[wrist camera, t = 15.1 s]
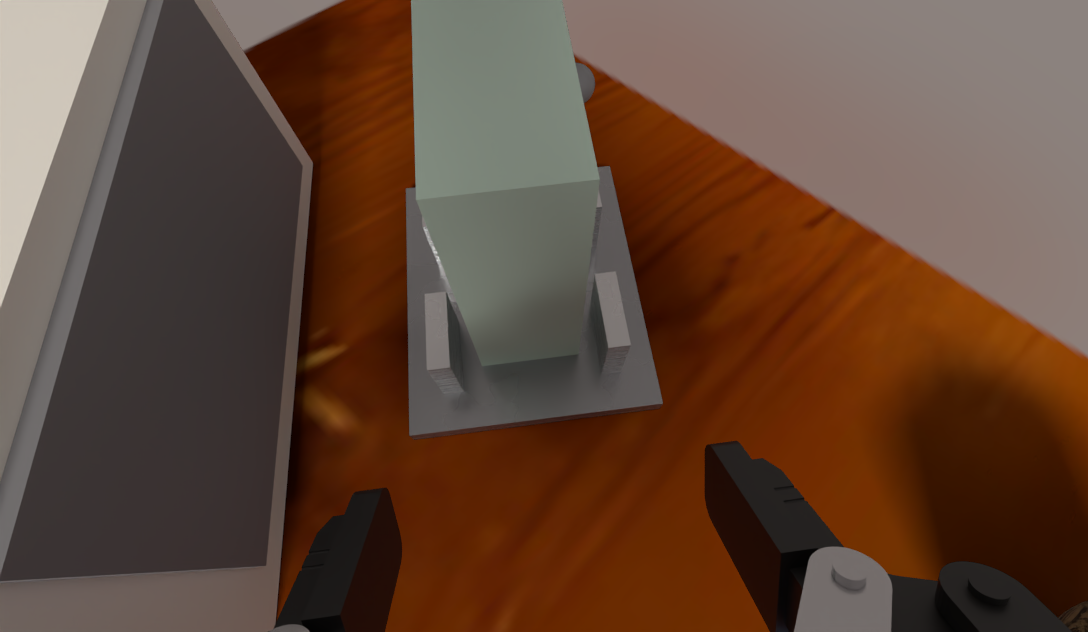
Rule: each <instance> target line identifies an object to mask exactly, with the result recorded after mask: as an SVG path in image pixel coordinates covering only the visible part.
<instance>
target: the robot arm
mask: <svg viewBox="0 0 1088 632" xmlns="http://www.w3.org/2000/svg"><path fill="white" fill-rule="evenodd" d="M705 501H706V506H707V510H708V513H709V516H710V519H711V521H712V523H713V525H714V527H715V529H716V530H717V532H718V534H719V536H720V538H721V540H722V542H723V544H724V546H725V547H726V549H727V551H728V553H729V555H730V557H731V559H732V561H733V563H734V564H735V566H736V568H737V570H738V572H739V574H740V576H741V578H742V580H743V581H744V583H745V585H746V587H747V589H748V591H749V593H750V595H751V597H752V598H753V600H754V602H755V604H756V606H757V608H758V610H759V612H760V614H761V615H762V617H763V619H764V621H765V623H766V625H767V627H768V629H769V631H770V632H1072V631H1071V630H1070V629H1069V628H1068V627H1067V626H1066V625H1065V624H1064V623H1063V622H1062V621H1061V620H1059V619H1058V618H1057V617H1056V616H1055V615H1054V614H1053V613H1052V612H1051V611H1050V610H1049V609H1048V608H1047V607H1046V606H1045V605H1044V604H1043V603H1042V602H1040V601H1039V600H1038V599H1037V598H1036V597H1035V596H1034V595H1033V594H1032V593H1031V592H1030V591H1029V590H1028V589H1027V588H1026V587H1024V586H1023V585H1022V584H1021V583H1019V582H1018V581H1017V580H1015V579H1014V578H1012V577H1010V576H1009V575H1007V574H1005V573H1003V572H1001V571H999V570H997V569H994V568H992V567H989V566H986V565H983V564H979V563H974V562H966V561H961V562H953V563H950V564H947V565H946V566H944V567H943V568H942V569H941V571H940V574H939V579H938V581H933V580H925V579H917V578H909V577H901V576H895V575H891V574H887V573H886V572H885V570H884V569H883V568H882V567H881V566H880V565H879V564H878V563H877V562H875V561H874V560H873V559H871V558H870V557H868V556H866V555H864V554H862V553H860V552H858V551H855V550H852V549H848V548H844V547H843V545H842V544H841V543H840V542H839V540H838V539H837V538H836V537H835V536H834V534H833V533H832V532H831V531H830V529H829V528H828V527H827V526H826V524H825V523H824V522H823V521H822V520H821V518H820V517H819V516H818V515H817V513H816V512H815V511H814V510H813V508H812V507H811V506H810V505H809V504H808V502H807V501H804V497H803V496H802V495H801V494H800V492H799V491H798V490H797V489H796V488H794V485H793V484H792V483H791V481H790V480H789V479H788V478H787V476H786V475H785V474H784V473H783V472H782V470H780V469H779V468H777V467H776V466H774V465H772V464H771V463H769V462H768V461H766V460H764V459H763V458H761V459H754V460H752V459H751V458H750V456H749V455H748V454H747V452H746V451H745V450H744V448H743V447H742V446H741V444H740V443H739V442H738V441H731V442H724V443H717V444H709V445H707V446H706V448H705ZM401 558H402V542H401V536H400V532H399V528H398V524H397V520H396V516H395V512H394V509H393V505H392V501H391V497H390V494H389V491H388V489H387V488H380V489H372V490H365V491H358V492H355V493H354V494H353V495H352V497H351V500H350V502H349V505H348V507H347V510H346V512H345V514H344V515H340V516H333V517H332V518H331V519H330V520H329V521H328V522H327V524H326V525H325V526H324V527H323V528H322V529H321V530H320V531H319V532H318V533H317V535H316V537H315V539H314V542H313V544H312V546H311V548H310V550H309V555H307V557H306V559H305V561H304V563H303V565H302V571H300V572H299V574H298V576H297V579H296V581H295V583H294V585H293V587H292V589H291V592H290V594H289V596H288V598H287V600H286V602H285V605H284V607H283V609H282V611H281V613H280V615H279V618H278V620H277V622H276V624H275V626H274V628H273V629H272V630H270V631H268V632H385V628H386V624H387V620H388V615H389V611H390V607H391V603H392V598H393V594H394V590H395V586H396V582H397V577H398V573H399V569H400V565H401Z"/></svg>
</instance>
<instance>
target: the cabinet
mask: <svg viewBox="0 0 1088 632" xmlns="http://www.w3.org/2000/svg"><path fill="white" fill-rule="evenodd" d="M312 170H313V162H312V160H311V159H310V157H309V156H308V154H307V152H306V151H305V149H304V148H303V146H302V144H301V143H300V141H299V140H298V138H297V136H296V135H295V133H294V132H293V130H292V128H291V127H290V125H289V124H288V122H287V120H286V119H285V117H284V116H283V114H282V112H281V111H280V109H279V108H278V106H277V105H276V103H275V101H274V100H273V98H272V97H271V95H270V93H269V92H268V90H267V89H266V87H265V85H264V84H263V82H262V81H261V79H260V77H259V76H258V74H257V73H256V71H255V69H254V68H253V66H252V65H251V63H250V61H249V60H248V58H247V57H246V55H245V53H244V52H243V50H242V49H241V47H240V45H239V44H238V42H237V41H236V39H235V37H234V36H233V34H232V33H231V31H230V30H229V28H228V26H227V25H226V23H225V22H224V20H223V18H222V17H221V15H220V13H219V12H218V10H217V9H216V7H215V5H214V4H213V2H212V1H211V0H0V632H267V631H270V630H272V629H273V628H274V626H275V624H276V612H277V600H278V588H279V576H280V563H281V551H282V539H283V526H284V514H285V502H286V490H287V477H288V465H289V453H290V440H291V428H292V416H293V404H294V391H295V379H296V367H297V354H298V342H299V330H300V318H301V305H302V293H303V281H304V268H305V256H306V244H307V232H308V219H309V207H310V195H311V182H312Z"/></svg>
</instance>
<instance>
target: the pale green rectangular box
mask: <svg viewBox="0 0 1088 632" xmlns="http://www.w3.org/2000/svg"><path fill="white" fill-rule="evenodd" d="M411 12H412V53H413V95H414V136H415V178H416V201H417V204H418V206H419V209H420V211H421V214H422V216H423V219H424V221H425V224H426V226H427V229H428V231H429V234H430V236H431V239H432V241H433V244H434V246H435V249H436V251H437V254H438V256H439V259H440V261H441V264H442V266H443V269H444V272H445V274H446V277H447V279H448V282H449V284H450V287H451V289H452V292H453V294H454V297H455V299H456V302H457V304H458V307H459V309H460V312H461V314H462V317H463V319H464V322H465V324H466V327H467V329H468V332H469V334H470V337H471V339H472V342H473V344H474V347H475V350H476V352H477V355H478V357H479V360H480V362H481V365H482V366H487V365H495V364H504V363H512V362H520V361H528V360H536V359H544V358H552V357H560V356H568V355H577V354H579V347H580V339H581V331H582V323H583V314H584V306H585V298H586V290H587V281H588V273H589V265H590V257H591V248H592V240H593V232H594V224H595V215H596V207H597V199H598V191H599V182H600V178H599V173H598V168H597V163H596V159H595V154H594V149H593V144H592V140H591V135H590V130H589V126H588V121H587V116H586V111H585V107H584V103H585V102H586V101H588V100H589V98H590V97H591V96H592V94H593V91H594V87H595V80H594V76H593V74H592V72H591V70H590V69H589V68H588V67H587V66H585V65H583V64H580V63H575V59H574V55H573V50H572V46H571V40H570V36H569V31H568V26H567V21H566V17H565V12H564V7H563V2H562V0H411Z"/></svg>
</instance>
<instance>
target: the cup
mask: <svg viewBox="0 0 1088 632" xmlns="http://www.w3.org/2000/svg"><path fill="white" fill-rule="evenodd" d="M1058 619H1059V620H1061V621H1062V622H1063V623H1064V624H1065V625H1066V626H1067V627H1068V628H1069V629H1070V630H1071V631H1072V632H1088V601H1085V602H1082V603H1080V604H1078V605H1076V606H1074V607H1072V608H1071V609H1069V610H1067V611H1065V612H1064V613H1063V614H1061V615H1060V616H1059V617H1058Z"/></svg>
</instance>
